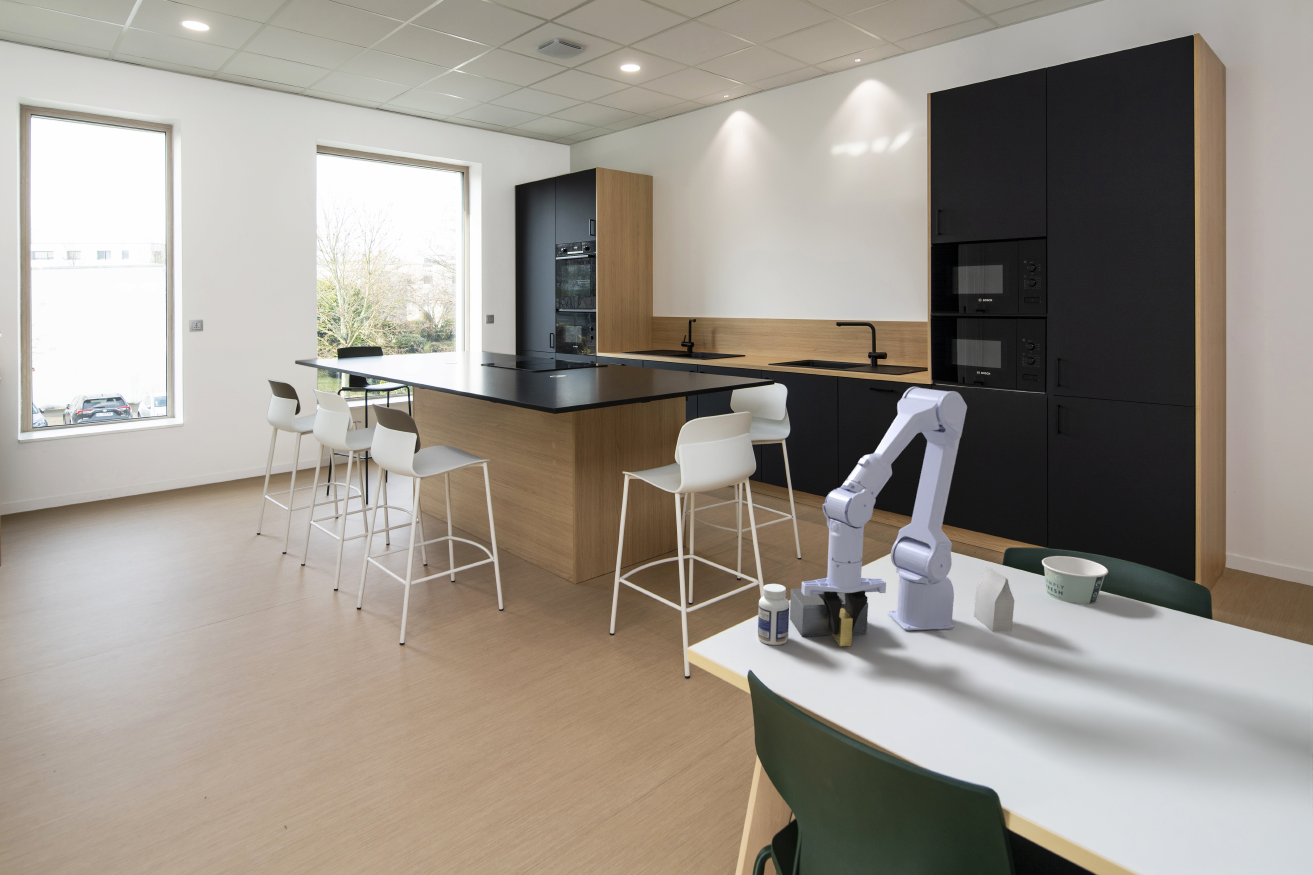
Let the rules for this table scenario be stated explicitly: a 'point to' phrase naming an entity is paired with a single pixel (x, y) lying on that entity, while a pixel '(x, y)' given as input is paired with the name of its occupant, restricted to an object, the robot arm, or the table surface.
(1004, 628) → the white gabled box
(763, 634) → the pill bottle
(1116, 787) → the table surface
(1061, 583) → the food container
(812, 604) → the grey slotted block
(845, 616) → the block
